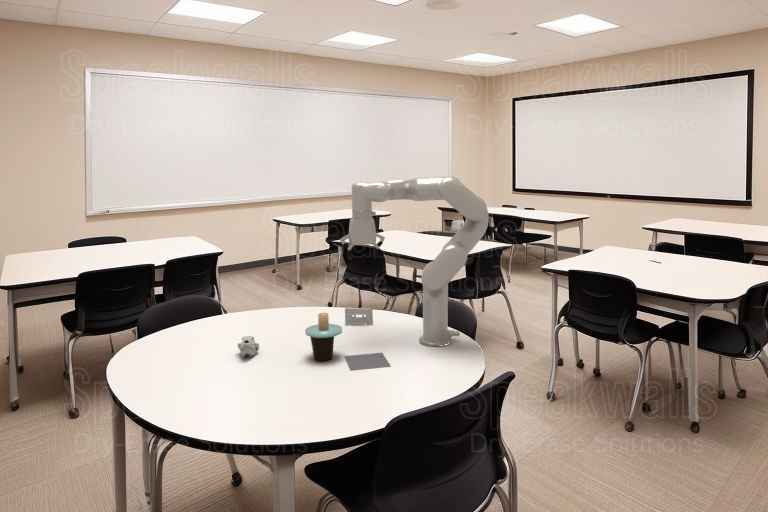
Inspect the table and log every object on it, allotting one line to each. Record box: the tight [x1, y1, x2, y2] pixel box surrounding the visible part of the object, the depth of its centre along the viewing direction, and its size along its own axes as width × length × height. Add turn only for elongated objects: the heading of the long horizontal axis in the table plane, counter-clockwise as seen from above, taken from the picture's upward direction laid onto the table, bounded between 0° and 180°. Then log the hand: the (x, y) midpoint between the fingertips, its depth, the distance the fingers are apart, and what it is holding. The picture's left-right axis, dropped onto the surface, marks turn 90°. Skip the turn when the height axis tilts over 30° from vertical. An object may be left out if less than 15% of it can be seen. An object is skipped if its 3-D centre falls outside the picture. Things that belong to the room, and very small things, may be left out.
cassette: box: [344, 307, 374, 327], centre depth 226 cm, size 12×2×8 cm, turn 87°
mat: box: [344, 352, 392, 372], centre depth 184 cm, size 14×14×1 cm
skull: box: [237, 335, 260, 358], centre depth 192 cm, size 8×9×12 cm
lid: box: [304, 312, 343, 338], centre depth 186 cm, size 13×13×6 cm
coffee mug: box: [309, 336, 335, 363], centre depth 187 cm, size 12×9×10 cm
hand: (363, 259), depth 203 cm, fingers open, 9 cm apart
